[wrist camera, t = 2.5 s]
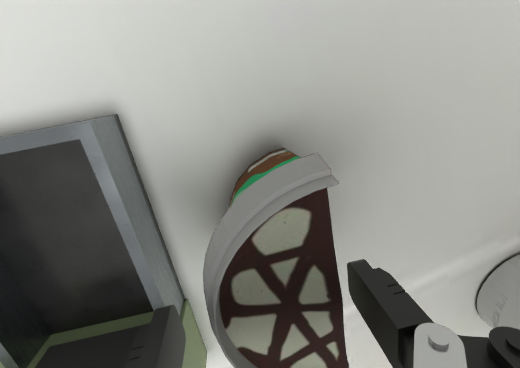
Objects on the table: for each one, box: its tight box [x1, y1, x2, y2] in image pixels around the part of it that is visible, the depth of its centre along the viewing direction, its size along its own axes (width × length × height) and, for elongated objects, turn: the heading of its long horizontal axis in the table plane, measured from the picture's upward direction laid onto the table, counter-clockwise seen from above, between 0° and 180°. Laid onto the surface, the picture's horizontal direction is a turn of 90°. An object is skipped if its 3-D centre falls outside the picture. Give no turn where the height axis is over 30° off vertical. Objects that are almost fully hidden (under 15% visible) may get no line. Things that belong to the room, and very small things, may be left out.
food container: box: [203, 148, 349, 368], centre depth 15 cm, size 12×6×10 cm, turn 11°
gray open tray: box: [0, 114, 185, 368], centre depth 17 cm, size 12×15×4 cm
